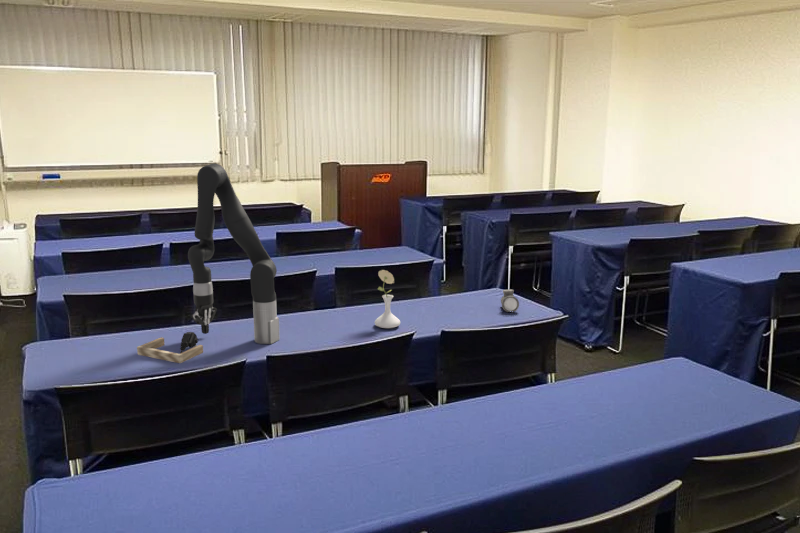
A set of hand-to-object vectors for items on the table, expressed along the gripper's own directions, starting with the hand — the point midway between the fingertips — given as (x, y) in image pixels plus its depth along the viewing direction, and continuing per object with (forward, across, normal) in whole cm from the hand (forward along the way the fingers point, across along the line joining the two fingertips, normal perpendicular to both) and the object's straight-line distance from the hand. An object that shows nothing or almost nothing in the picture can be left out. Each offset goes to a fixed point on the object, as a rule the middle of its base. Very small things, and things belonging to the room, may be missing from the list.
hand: (205, 333), depth 264 cm
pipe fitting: (+2, +98, -100) cm, 140 cm away
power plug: (+2, -15, -4) cm, 16 cm away
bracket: (+2, -19, -1) cm, 20 cm away
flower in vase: (+2, +48, -59) cm, 76 cm away
